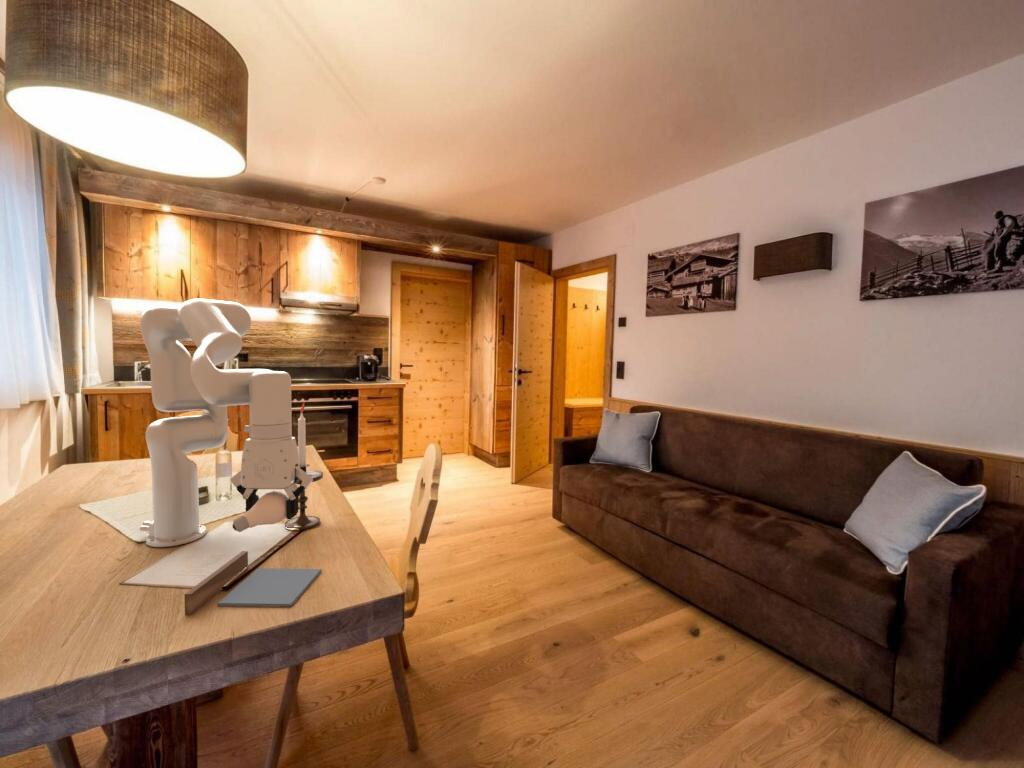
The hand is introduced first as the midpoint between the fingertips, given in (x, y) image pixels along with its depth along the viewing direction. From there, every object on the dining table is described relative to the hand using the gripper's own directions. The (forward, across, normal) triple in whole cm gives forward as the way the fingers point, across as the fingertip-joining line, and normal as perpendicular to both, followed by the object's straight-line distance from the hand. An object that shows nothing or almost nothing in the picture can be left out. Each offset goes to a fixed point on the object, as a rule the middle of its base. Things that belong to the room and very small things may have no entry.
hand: (272, 516), depth 91 cm
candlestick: (+15, -10, +34) cm, 38 cm away
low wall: (+15, -10, -1) cm, 19 cm away
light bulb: (+2, -1, -2) cm, 3 cm away
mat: (+15, 0, 0) cm, 15 cm away
